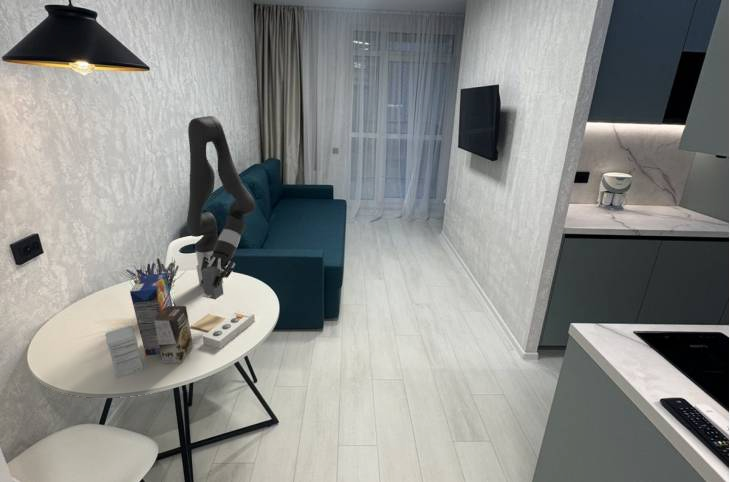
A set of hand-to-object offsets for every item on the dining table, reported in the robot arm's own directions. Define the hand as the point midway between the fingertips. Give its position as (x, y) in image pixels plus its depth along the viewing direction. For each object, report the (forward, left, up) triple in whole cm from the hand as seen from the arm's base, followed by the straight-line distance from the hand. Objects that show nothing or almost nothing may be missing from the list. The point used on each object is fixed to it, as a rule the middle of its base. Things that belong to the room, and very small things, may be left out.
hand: (209, 285), depth 140 cm
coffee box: (-1, -20, -16) cm, 25 cm away
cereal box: (-10, -16, -16) cm, 25 cm away
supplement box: (-12, -29, -16) cm, 35 cm away
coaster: (-2, -1, -16) cm, 16 cm away
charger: (0, +2, -5) cm, 5 cm away
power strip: (+9, -4, -16) cm, 19 cm away
